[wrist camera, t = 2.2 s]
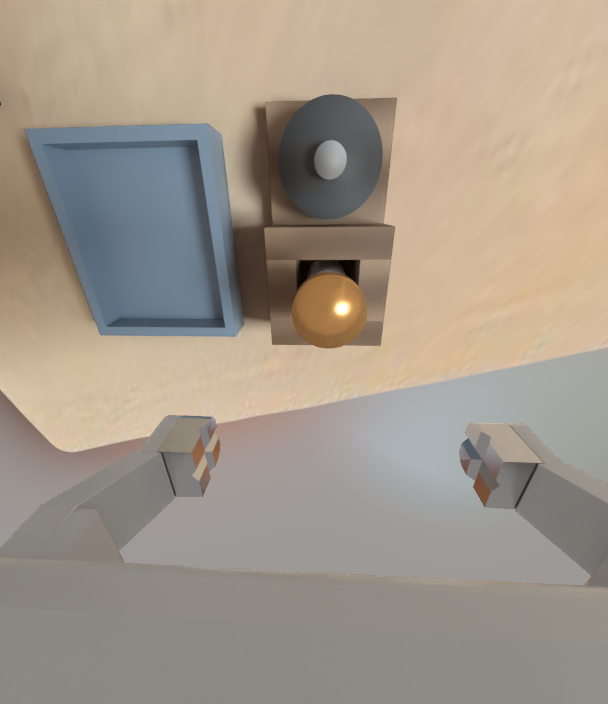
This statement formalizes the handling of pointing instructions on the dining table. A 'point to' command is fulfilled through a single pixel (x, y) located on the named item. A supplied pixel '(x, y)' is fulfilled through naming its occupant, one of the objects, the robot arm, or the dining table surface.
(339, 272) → the pin
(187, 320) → the tray
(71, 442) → the dining table surface
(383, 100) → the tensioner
